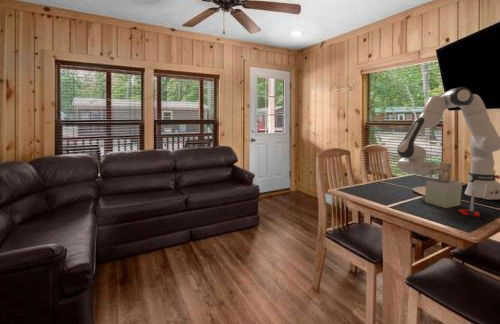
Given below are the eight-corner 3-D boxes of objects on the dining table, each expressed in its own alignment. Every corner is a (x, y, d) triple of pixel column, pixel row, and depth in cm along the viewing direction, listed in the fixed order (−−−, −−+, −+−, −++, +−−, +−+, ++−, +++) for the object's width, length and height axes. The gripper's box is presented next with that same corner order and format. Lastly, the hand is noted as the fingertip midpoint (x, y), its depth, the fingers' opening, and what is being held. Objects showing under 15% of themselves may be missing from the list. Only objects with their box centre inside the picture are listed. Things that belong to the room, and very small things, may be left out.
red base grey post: (457, 210, 149) (460, 215, 141) (460, 186, 147) (463, 190, 139) (477, 213, 145) (481, 217, 137) (480, 188, 143) (484, 192, 135)
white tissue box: (438, 199, 167) (440, 178, 165) (459, 205, 156) (462, 182, 154) (424, 202, 162) (426, 180, 160) (445, 208, 151) (448, 184, 149)
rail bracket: (442, 184, 160) (444, 162, 158) (449, 185, 156) (452, 163, 154) (437, 184, 158) (440, 162, 156) (444, 186, 155) (447, 163, 153)
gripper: (411, 164, 164) (434, 168, 151) (435, 162, 171) (458, 165, 158) (410, 175, 165) (433, 180, 152) (434, 172, 172) (457, 176, 159)
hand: (446, 172), depth 155 cm, fingers closed on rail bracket, 4 cm apart
